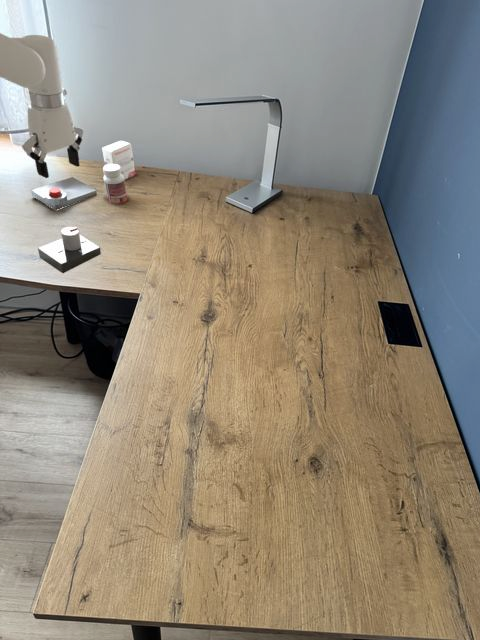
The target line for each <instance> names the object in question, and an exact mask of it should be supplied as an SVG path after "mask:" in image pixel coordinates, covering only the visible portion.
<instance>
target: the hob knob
mask: <svg viewBox="0 0 480 640" xmlns="http://www.w3.org/2000/svg"><path fill="white" fill-rule="evenodd" d="M60 234H61V239H62V240H63V246H64V248H65V249H66V250H70V251H73V250H78V249H79V248H81V241H80V235H81V234H80V230H79V227H78V226H66V227H63V228H62V229H61V230H60Z"/></svg>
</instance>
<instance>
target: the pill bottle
mask: <svg viewBox="0 0 480 640" xmlns="http://www.w3.org/2000/svg"><path fill="white" fill-rule="evenodd" d="M102 172H103V179H102V180H103V184H104V190H105V191H104V192H105V196H106V200H107V202H108V203H110V204H114V205H116V204H118V205H119V204H123V203H125V202H126V201H128V193H127V188H126V182H125V180H124V176H123V175H122V174H121V168H120V166H119V165H117V164H108V165H105V164H104V165H103V167H102Z"/></svg>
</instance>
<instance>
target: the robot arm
mask: <svg viewBox="0 0 480 640" xmlns="http://www.w3.org/2000/svg"><path fill="white" fill-rule="evenodd" d="M0 78H1V79H3V80H5V81H8V82H10V83H13V84H15V85H17V86H20V87H22V88H25V89H27V92H28V96H29V97H28V98H29V101H30V104H29V105H27V126H28V127H27V128H28V134H29V137H28V139H26V141H25V142H24V143H22V145H21V148H22V150H23V151H24V152H25V154H26V155H27V156H28V157H30V158H31V159H32V160H33V161H34V163H35V167H36V173H37V174H38V175H39V176H40V177H42V178H45V179H49V178H50V177H49V176H50V173H49V169H48V164H47V162H46V161H45V160H46V159H45V158H46V157H47V155H48V153H49V154H50V153H52V152H55V151H59V150H61V149H64V148H66V151H67V157H68V163H69V164H70V165H72V166H74V167H80V166H81V165H80V156H79V151H80V146H81V143H82V142H83V135H84V129H83V128H81V127H78V126H75V125H74V122H73V118H72V114H71V111H70V108H69V106H68V103H67V102H66V98H65V96H67V95H68V91H67V90H66V89H65V88H64V86H63V80H62V72H61V66H60V58H59V52H58V46H57V43H56V41H55V40H54V39H53V38H51V37H49V36H47V35H41V34H28V35H25V36H22V37H9V36H7V35H5V34H3V33H1V32H0ZM33 149H34V150H33Z"/></svg>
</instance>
